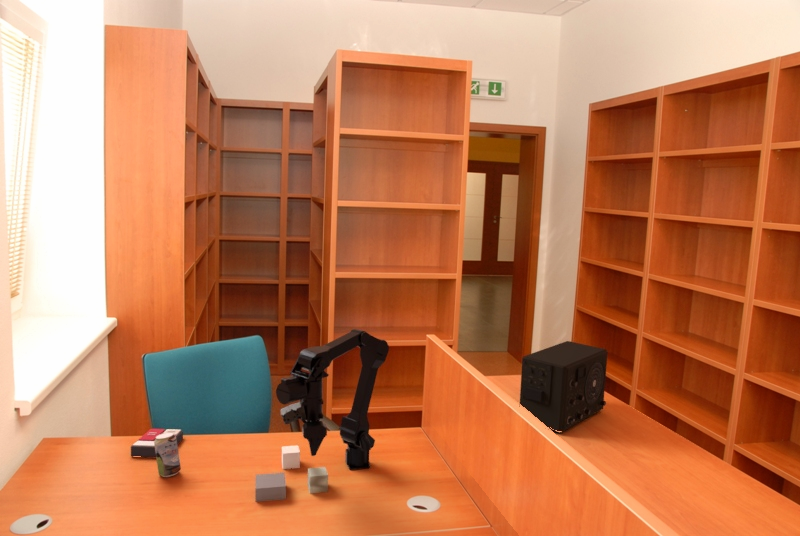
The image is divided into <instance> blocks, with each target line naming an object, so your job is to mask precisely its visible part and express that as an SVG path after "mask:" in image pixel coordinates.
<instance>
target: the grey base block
mask: <svg viewBox="0 0 800 536" xmlns="http://www.w3.org/2000/svg"><path fill="white" fill-rule="evenodd" d="M254 479H255V483H254V484H255V485H254V486H255V492H254V494H255V495H254V496H255V497H254V498H255V500H254V501H255V502H257V503H258V502H267V501H268V502H269V501H279V500H280V501H281V500H286V499H287V485H286V484H287V483H286V473H285V472H284V471H283V472H273V473H259V474H255V478H254Z"/></svg>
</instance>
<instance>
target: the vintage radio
mask: <svg viewBox="0 0 800 536" xmlns="http://www.w3.org/2000/svg"><path fill="white" fill-rule="evenodd" d="M607 363H608V350H607V349H606V348H603V347H602V348H601V347H598V346H597V347H596V346H592V345H588V344H583V343H579V342H574V341H570V340H567V341H563V342H560V343H558V344H555V345H551V346H550V347H547V348H544V349H541V350H538V351H535V352H533V353H530V354H527V355H524V356H522V361H521V374H520V375H521V377H520V390H519V391H520V393H519V405H520V404H521V405H522V406H523V407H525V408H526V409H527V410H528V411H530V412H531V413H532V414H533V415H534V416H535V417H537V418H538V419H539V420H540V421H541V422H543V423H544V424H545V425H546V426H547V427H549V428H550V427H551V428H552V429H554V430H557V431H563V432H564V431H565V432H566V430H568V429H570V428H572V427H573V426H575V425H577V424H578V423H581V422H582V421H584V420H586V419H587V418H589V417H591V416H593V415H594V414H596V412H597V413H598V412H599V411H602V410H603V409H604V407H605V406H606V405H607V401H605V387H606V378H607V375H606V374H607ZM551 428H550V429H551ZM552 429H551V430H550V431H553V430H552ZM553 432H554V431H553Z"/></svg>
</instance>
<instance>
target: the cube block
mask: <svg viewBox="0 0 800 536" xmlns="http://www.w3.org/2000/svg"><path fill="white" fill-rule="evenodd" d="M307 489H308V492H309V494H317V493H327V492H329V474H328V470H327V468H326V466H320V467H309V468H307Z"/></svg>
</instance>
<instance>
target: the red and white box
mask: <svg viewBox="0 0 800 536" xmlns="http://www.w3.org/2000/svg"><path fill="white" fill-rule="evenodd" d="M168 432H172V433H174V435H175V436H176V439H177V446H178V445H180V443H181V441H183V439H184V430H182V429H177V428H176V429H174V428H172V429H171V428H168V429H165V428H150V429H149V430H148V431H147V432H146V433H144V434H142V436H141V437H140V438H138V440H137V441H135V442H134V443H133V444H132V445H131V446H130V457H131V456H141V457H156V452H155V445H154V441H155V439H156V436H158V435H160V434H163V433H168Z"/></svg>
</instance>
